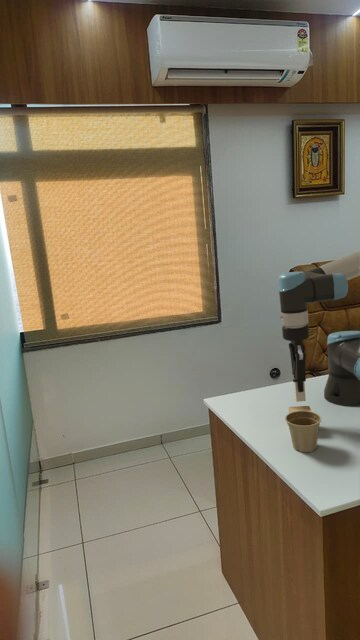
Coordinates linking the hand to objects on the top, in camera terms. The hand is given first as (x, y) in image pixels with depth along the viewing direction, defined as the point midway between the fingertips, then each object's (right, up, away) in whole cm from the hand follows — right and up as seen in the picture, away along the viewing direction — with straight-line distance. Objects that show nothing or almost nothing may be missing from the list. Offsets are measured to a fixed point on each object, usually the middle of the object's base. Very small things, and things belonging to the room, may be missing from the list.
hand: (300, 400), depth 126 cm
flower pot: (-3, -11, -12) cm, 17 cm away
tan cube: (0, -5, 0) cm, 5 cm away
